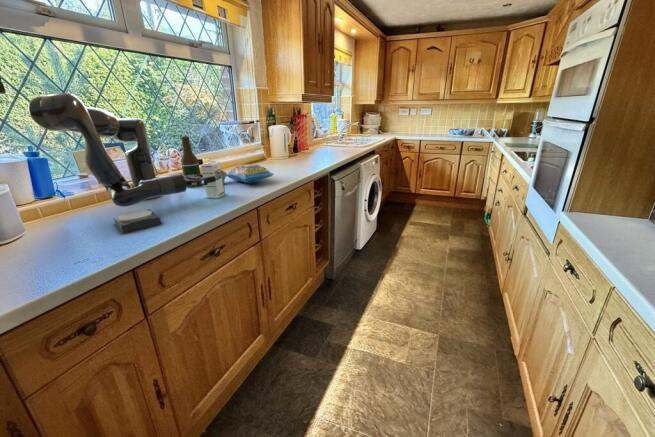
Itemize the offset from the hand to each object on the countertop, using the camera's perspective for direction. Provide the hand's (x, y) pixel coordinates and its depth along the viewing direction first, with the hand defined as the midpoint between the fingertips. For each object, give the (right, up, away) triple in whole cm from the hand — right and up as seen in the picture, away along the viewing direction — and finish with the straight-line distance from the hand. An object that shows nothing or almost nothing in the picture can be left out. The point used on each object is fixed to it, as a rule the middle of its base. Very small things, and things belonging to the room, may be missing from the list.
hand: (211, 177), depth 127 cm
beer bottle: (-18, -1, +24) cm, 30 cm away
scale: (-14, -19, -26) cm, 36 cm away
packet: (+10, +1, +27) cm, 29 cm away
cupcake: (-5, 0, +25) cm, 26 cm away
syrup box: (+1, -8, +4) cm, 9 cm away
